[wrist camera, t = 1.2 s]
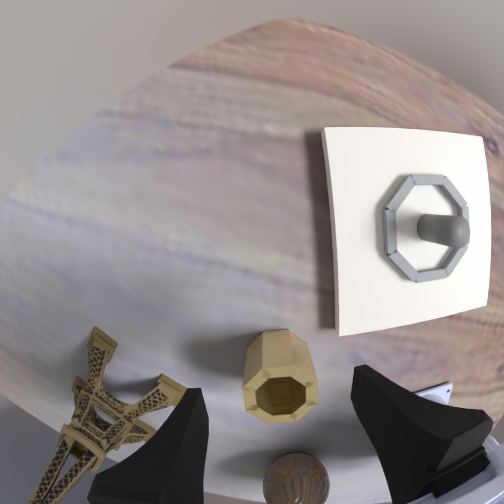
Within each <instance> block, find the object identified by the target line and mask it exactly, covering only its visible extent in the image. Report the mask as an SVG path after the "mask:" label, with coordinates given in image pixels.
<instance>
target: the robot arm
mask: <svg viewBox="0 0 504 504" xmlns="http://www.w3.org/2000/svg"><path fill="white" fill-rule="evenodd" d="M452 387H453V384H452V383H451V382H449V383H446V384H443V385H440V386H437V387H434V388H430V389H427V390H424V391H421V392H417V393H412V392H410V391H408V390H406V389H404V388H403V387H401V386H399V385H397V384H396V383H394V382H392V381H391V380H389V379H388V378H386V377H384V376H383V375H381V374H380V373H378V372H377V371H375V370H374V369H372V368H371V367H369V366H368V365H366V364H365V365H361V366H357V367H354V375H353V383H352V391H351V400H352V403H353V406H354V409H355V412H356V414H357V416H358V418H359V420H360V422H361V424H362V425H363V427H364V429H365V431H366V433H367V435H368V436H369V438H370V440H371V442H372V444H373V446H374V448H375V450H376V452H377V454H378V457H379V460H380V462H381V465H382V468H383V471H384V474H385V477H386V480H387V484H388V487H389V491H390V494H391V498H392V503H393V504H504V442H503V443H502V444H501V445H500V444H499V443H498V442H497V441H496V440H495V439H494V438H493V437H492V436H488V434H489V433H490V431H491V429H492V426H493V420H492V419H491V418H490V417H489V416H488V415H487V414H486V413H485V412H484V411H483V410H478V409H465V408H459V407H453V406H449V405H448V401H449V397H450V394H451V390H452ZM208 436H209V417H208V414H207V410H206V406H205V402H204V398H203V395H202V391H201V388H188V389H187V390H186V391H185V393H184V395H183V396H182V398H181V399H180V401H179V403H178V404H177V406H176V407H175V409H174V410H173V411H172V413H171V414H170V416H169V417H168V418H167V420H166V421H165V422H164V423H163V425H162V426H161V427H160V428H159V430H158V431H157V432H156V433H155V434H154V435H153V436H152V437H151V438H150V439H149V440H148V441H147V442H146V443H145V444H144V445H143V446H142V447H140V448H139V449H138V450H137V451H136V452H134V453H133V454H132V455H130V456H129V457H127V458H126V459H124V460H123V461H121V462H120V463H118V464H116V465H115V466H113V467H111V468H109V469H107V470H105V471H103V472H101V473H98V474H96V476H95V479H94V480H93V483H92V485H91V489H90V491H89V494H88V497H87V499H88V501H89V503H90V504H204V503H203V502H204V498H203V477H204V467H205V460H206V452H207V444H208Z"/></svg>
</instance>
